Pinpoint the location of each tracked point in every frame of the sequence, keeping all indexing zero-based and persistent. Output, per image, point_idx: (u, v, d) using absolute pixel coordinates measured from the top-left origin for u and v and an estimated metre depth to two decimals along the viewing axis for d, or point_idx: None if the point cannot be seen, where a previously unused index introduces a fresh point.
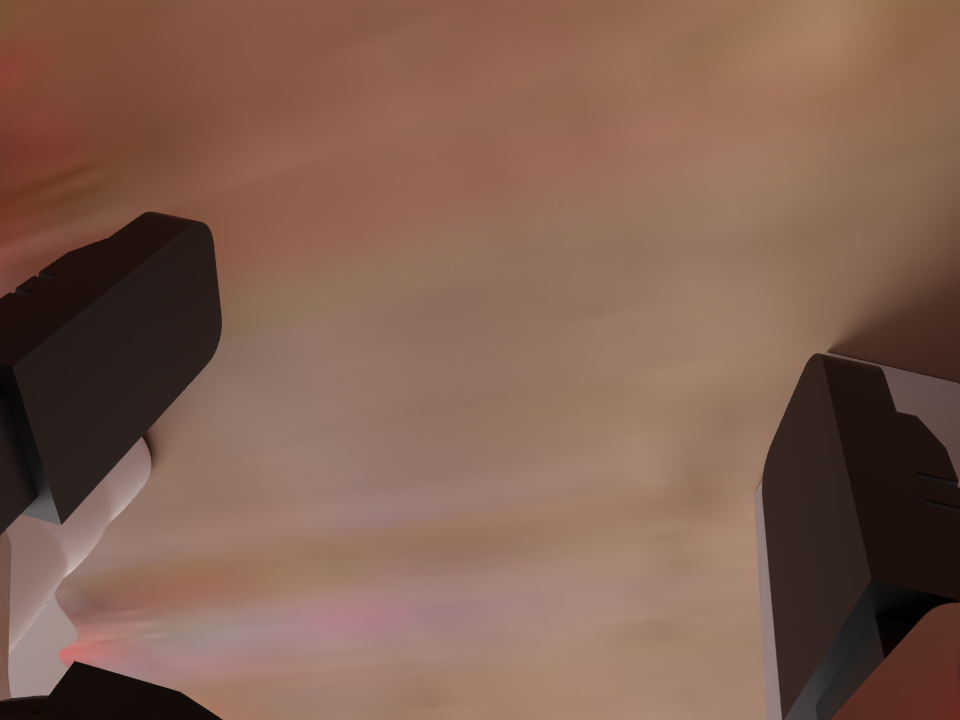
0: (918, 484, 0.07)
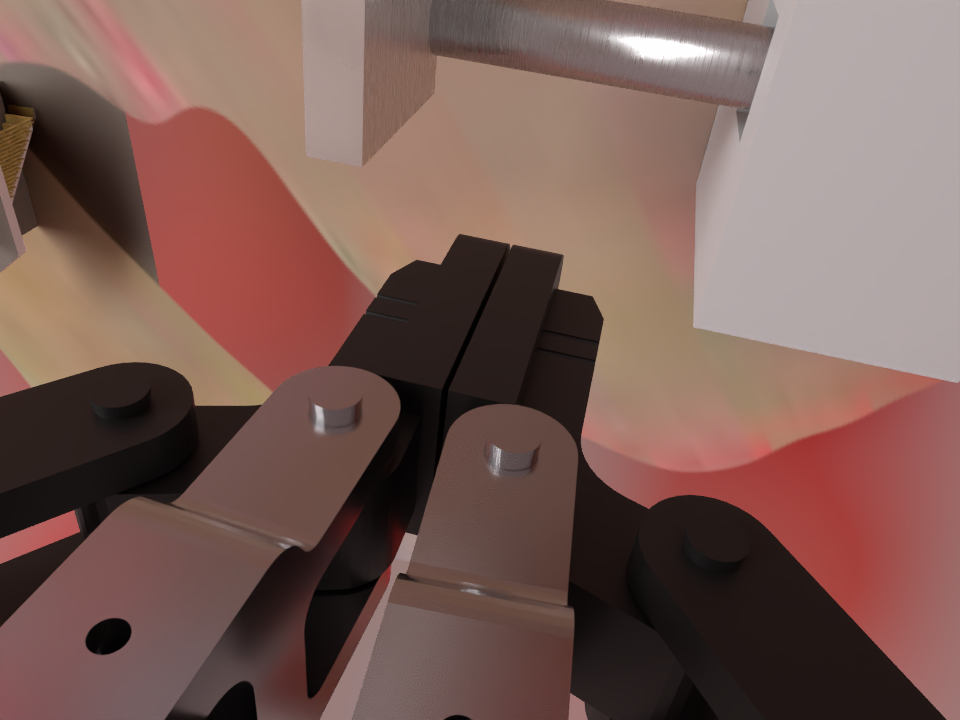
0: (537, 333, 0.09)
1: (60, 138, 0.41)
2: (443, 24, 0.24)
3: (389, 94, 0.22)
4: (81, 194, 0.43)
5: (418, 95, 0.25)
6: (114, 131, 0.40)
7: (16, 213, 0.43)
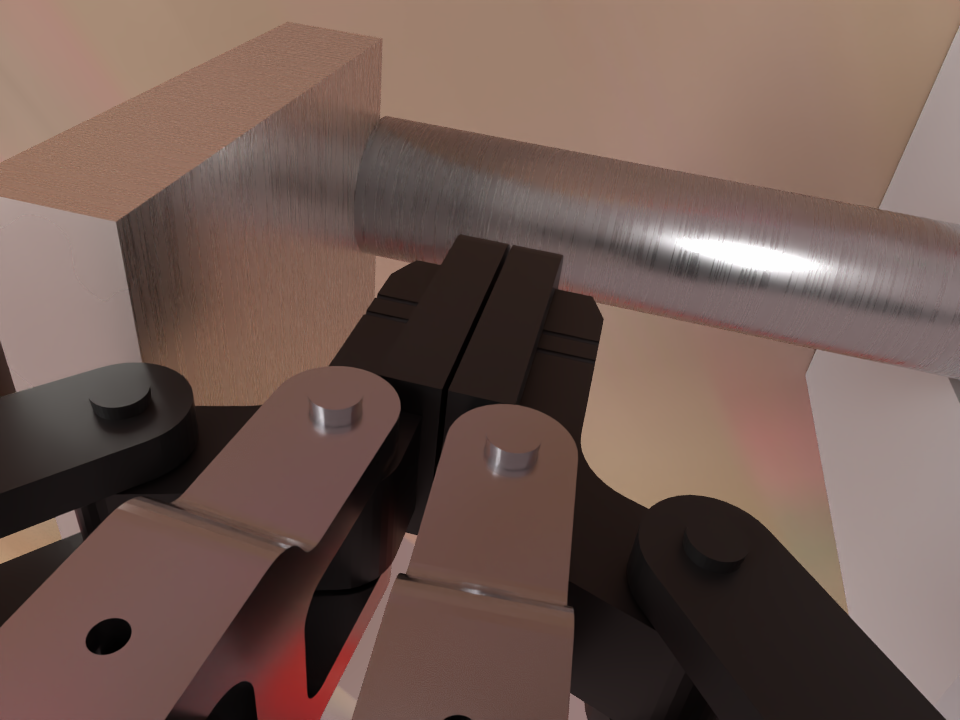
0: (537, 333, 0.09)
1: None
2: (380, 217, 0.13)
3: (254, 402, 0.11)
4: None
5: (338, 337, 0.14)
6: None
7: None
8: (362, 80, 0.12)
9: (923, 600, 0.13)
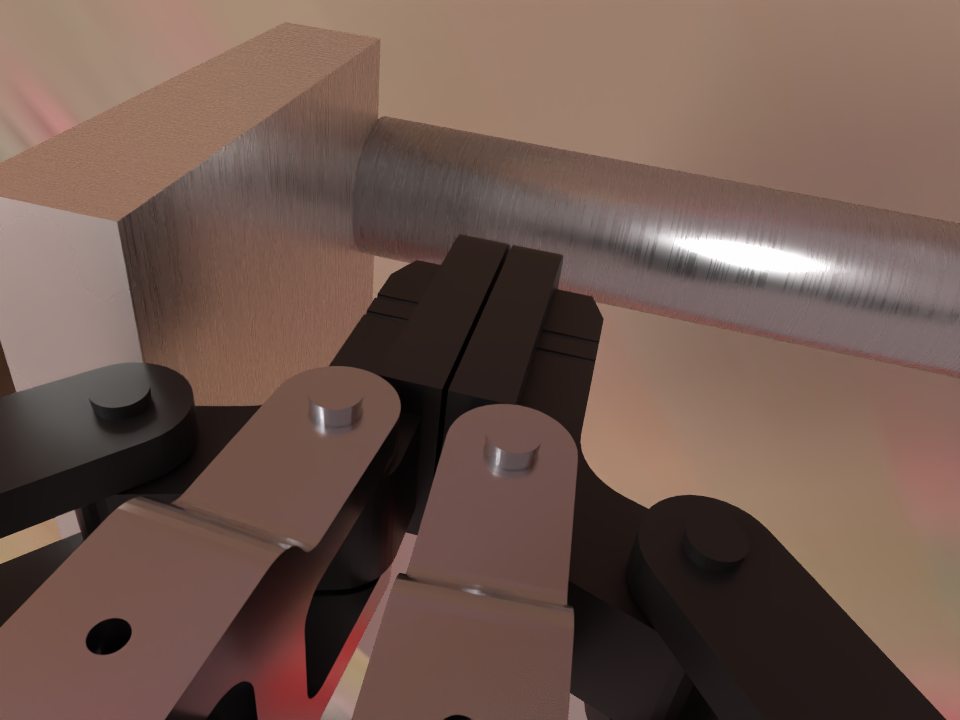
0: (537, 332, 0.09)
1: None
2: (378, 217, 0.13)
3: (254, 402, 0.11)
4: None
5: (336, 337, 0.14)
6: None
7: None
8: (360, 80, 0.12)
9: None
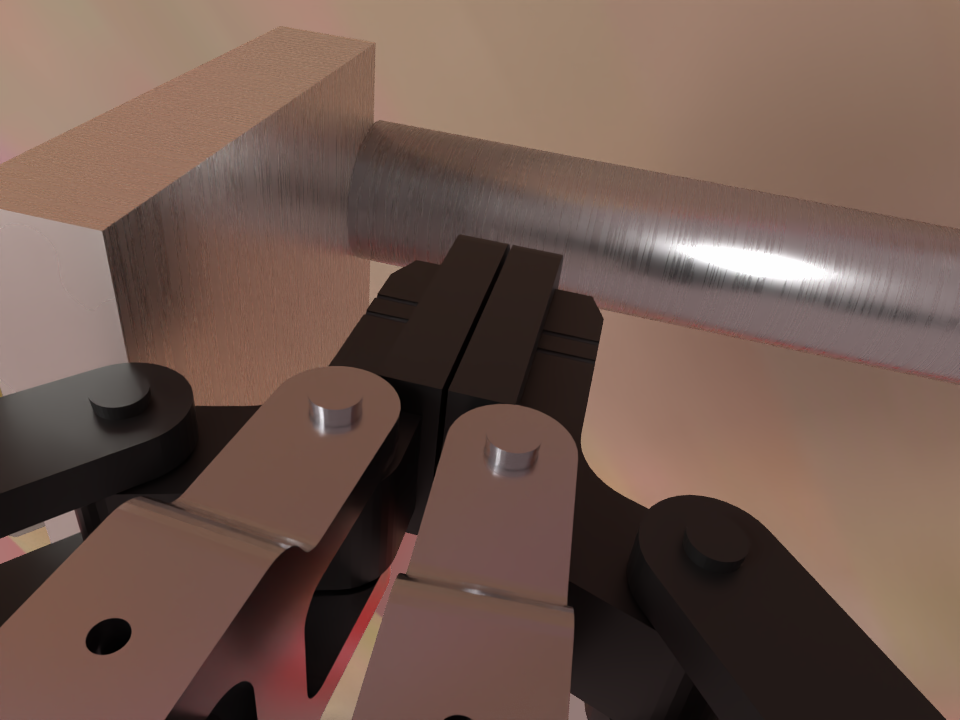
0: (537, 333, 0.09)
1: None
2: (374, 222, 0.13)
3: None
4: None
5: (331, 343, 0.13)
6: None
7: None
8: (355, 84, 0.12)
9: None
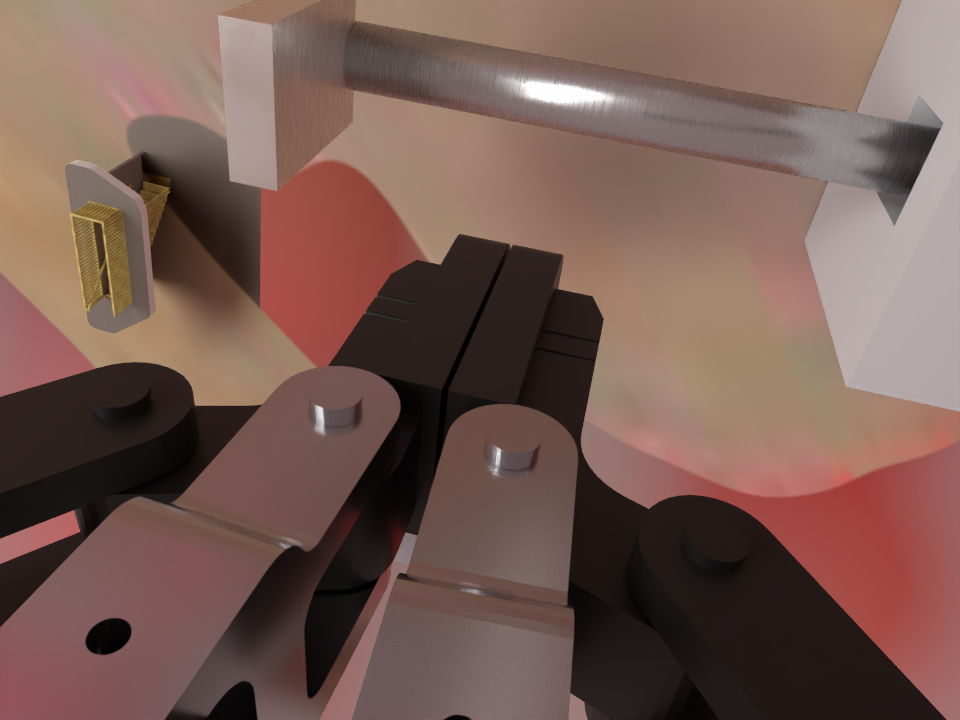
0: (537, 333, 0.09)
1: (191, 207, 0.44)
2: (355, 65, 0.28)
3: (302, 128, 0.26)
4: None
5: (335, 126, 0.29)
6: (245, 207, 0.44)
7: None
8: (347, 0, 0.27)
9: (867, 300, 0.28)
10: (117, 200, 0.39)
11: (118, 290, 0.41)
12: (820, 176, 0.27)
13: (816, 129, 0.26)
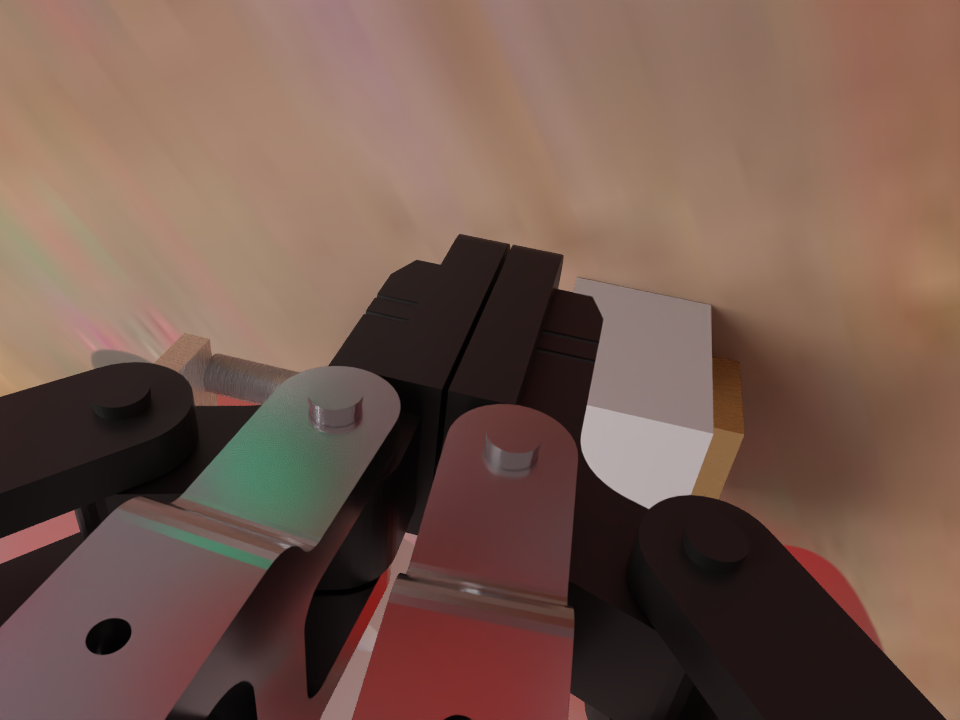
0: (537, 333, 0.09)
1: None
2: (210, 385, 0.46)
3: None
4: None
5: None
6: None
7: None
8: (202, 353, 0.45)
9: None
10: None
11: None
12: None
13: None
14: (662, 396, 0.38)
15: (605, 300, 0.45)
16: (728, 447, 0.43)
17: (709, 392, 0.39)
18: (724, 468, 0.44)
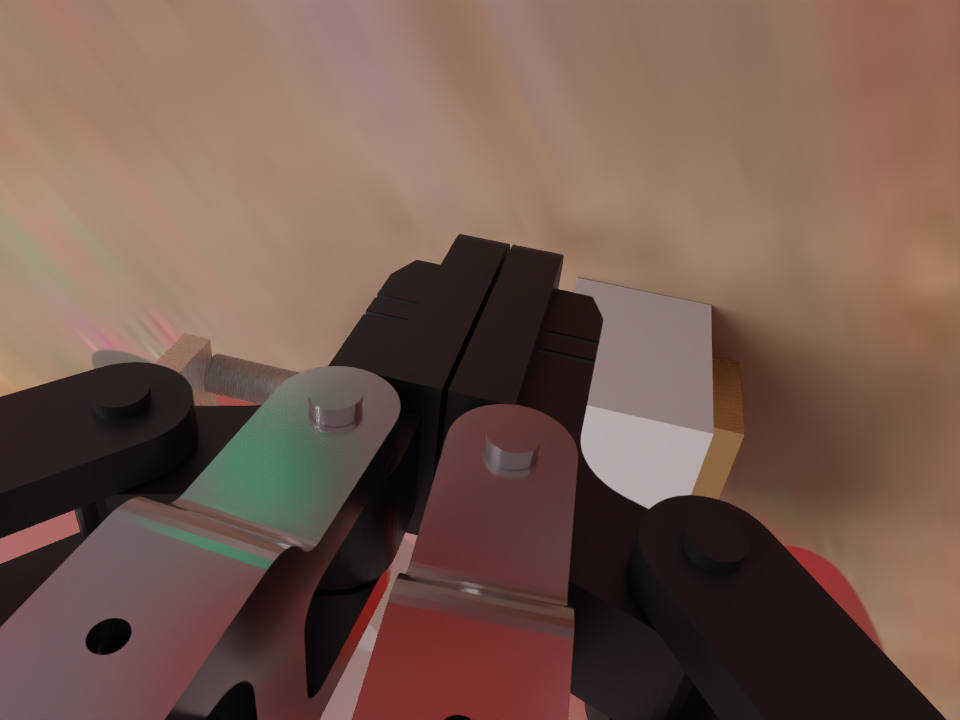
0: (537, 333, 0.09)
1: None
2: (211, 385, 0.46)
3: None
4: None
5: None
6: None
7: None
8: (202, 353, 0.45)
9: None
10: None
11: None
12: None
13: None
14: (663, 396, 0.38)
15: (605, 300, 0.45)
16: (728, 447, 0.43)
17: (709, 392, 0.39)
18: (724, 468, 0.44)
